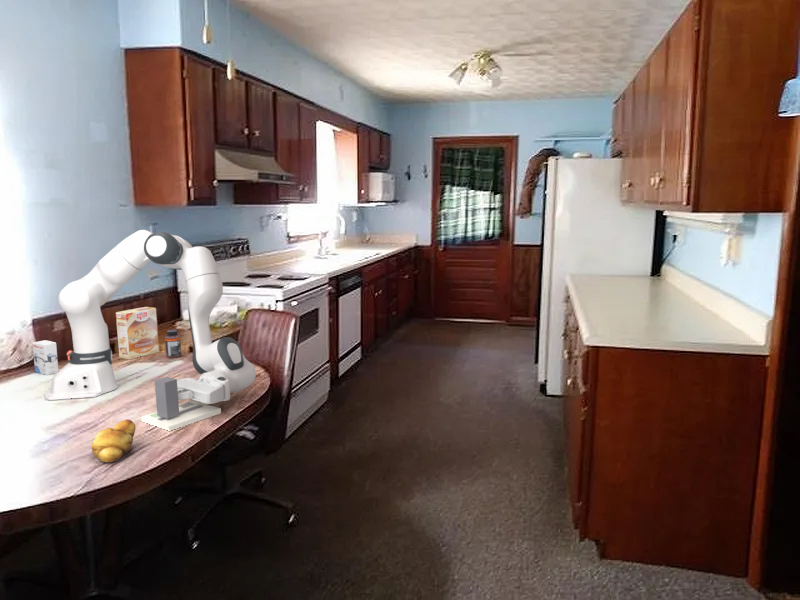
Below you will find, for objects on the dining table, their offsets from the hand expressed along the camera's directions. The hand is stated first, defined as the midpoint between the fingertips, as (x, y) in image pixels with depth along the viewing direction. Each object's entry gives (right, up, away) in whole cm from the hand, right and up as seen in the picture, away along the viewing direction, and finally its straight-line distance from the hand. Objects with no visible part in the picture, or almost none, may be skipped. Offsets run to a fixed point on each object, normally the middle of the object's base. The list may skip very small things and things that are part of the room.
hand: (173, 397), depth 181 cm
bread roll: (-7, -11, -24) cm, 27 cm away
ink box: (-68, +1, +53) cm, 86 cm away
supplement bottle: (-27, +5, +74) cm, 79 cm away
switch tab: (-1, -5, -1) cm, 5 cm away
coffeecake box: (-43, +5, +77) cm, 89 cm away
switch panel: (+1, -7, +3) cm, 7 cm away
